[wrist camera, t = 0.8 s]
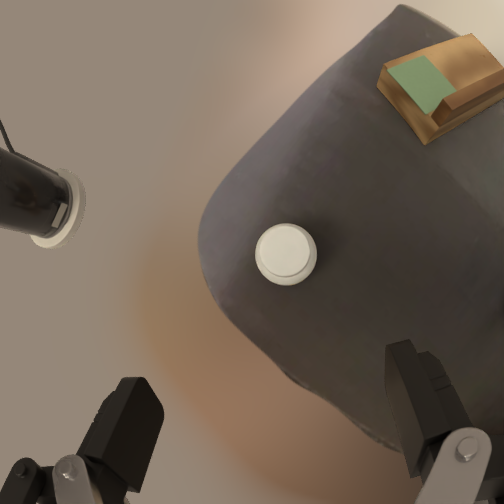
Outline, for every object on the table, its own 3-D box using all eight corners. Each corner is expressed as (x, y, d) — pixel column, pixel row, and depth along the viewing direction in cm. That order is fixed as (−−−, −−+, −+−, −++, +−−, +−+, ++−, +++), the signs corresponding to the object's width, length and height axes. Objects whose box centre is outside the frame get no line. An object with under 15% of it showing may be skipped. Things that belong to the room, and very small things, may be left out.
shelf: (373, 87, 35) (386, 43, 26) (461, 51, 33) (480, 17, 24) (421, 147, 33) (449, 111, 24) (502, 99, 32) (528, 69, 23)
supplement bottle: (275, 228, 34) (266, 205, 25) (321, 247, 33) (330, 231, 24) (255, 273, 34) (239, 268, 25) (301, 293, 33) (303, 296, 24)
